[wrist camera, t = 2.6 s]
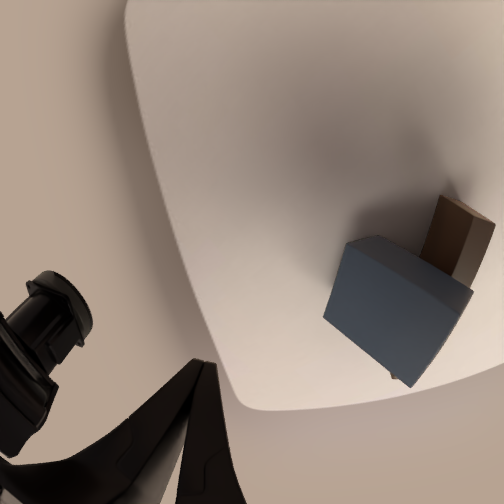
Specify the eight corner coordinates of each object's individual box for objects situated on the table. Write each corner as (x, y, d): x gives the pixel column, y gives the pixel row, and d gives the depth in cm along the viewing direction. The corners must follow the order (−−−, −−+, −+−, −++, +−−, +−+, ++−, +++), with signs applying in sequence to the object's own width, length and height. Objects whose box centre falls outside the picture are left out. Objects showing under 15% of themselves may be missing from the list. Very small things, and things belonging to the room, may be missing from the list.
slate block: (319, 296, 18) (332, 388, 11) (338, 227, 16) (374, 305, 9) (408, 307, 18) (445, 385, 11) (434, 246, 15) (494, 316, 9)
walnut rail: (380, 340, 19) (391, 379, 16) (439, 194, 14) (474, 215, 10) (400, 342, 19) (413, 379, 16) (461, 201, 14) (496, 224, 10)
